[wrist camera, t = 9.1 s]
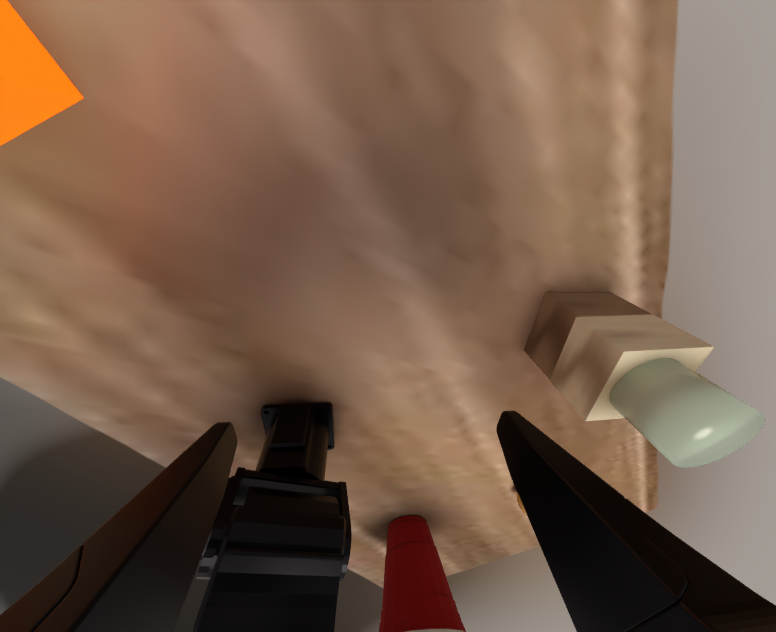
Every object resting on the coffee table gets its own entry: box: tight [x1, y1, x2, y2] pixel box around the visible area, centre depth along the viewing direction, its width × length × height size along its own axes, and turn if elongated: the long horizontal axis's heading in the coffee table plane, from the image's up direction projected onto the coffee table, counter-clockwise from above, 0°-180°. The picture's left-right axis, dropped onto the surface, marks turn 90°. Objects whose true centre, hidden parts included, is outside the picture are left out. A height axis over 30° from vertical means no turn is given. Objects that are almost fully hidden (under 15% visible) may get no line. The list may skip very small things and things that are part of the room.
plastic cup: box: [379, 516, 466, 632], centre depth 35 cm, size 11×11×12 cm
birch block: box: [550, 314, 714, 421], centre depth 19 cm, size 6×6×4 cm
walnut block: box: [524, 292, 651, 379], centre depth 23 cm, size 6×6×4 cm
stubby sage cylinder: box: [610, 358, 765, 468], centre depth 16 cm, size 5×5×4 cm
